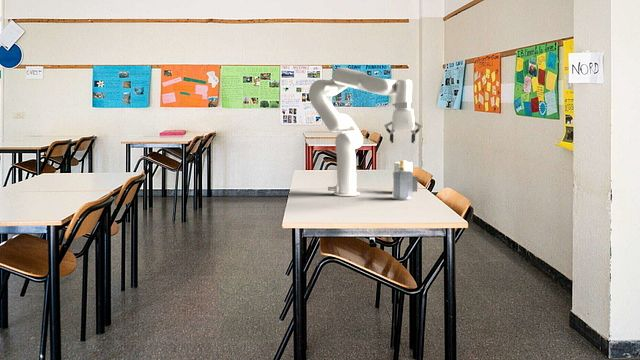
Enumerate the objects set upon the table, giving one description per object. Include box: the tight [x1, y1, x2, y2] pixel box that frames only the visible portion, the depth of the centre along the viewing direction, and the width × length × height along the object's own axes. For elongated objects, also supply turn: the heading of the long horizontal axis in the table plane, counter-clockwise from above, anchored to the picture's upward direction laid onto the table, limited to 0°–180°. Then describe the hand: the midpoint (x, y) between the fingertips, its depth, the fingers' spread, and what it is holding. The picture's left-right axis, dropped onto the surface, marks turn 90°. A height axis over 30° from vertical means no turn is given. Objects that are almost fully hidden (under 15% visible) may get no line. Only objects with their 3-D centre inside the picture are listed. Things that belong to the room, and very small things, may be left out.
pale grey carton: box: [392, 170, 419, 201], centre depth 299 cm, size 12×9×13 cm
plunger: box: [398, 160, 408, 172], centre depth 298 cm, size 6×6×16 cm
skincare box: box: [393, 161, 413, 172], centre depth 318 cm, size 8×7×16 cm
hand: (402, 142), depth 297 cm, fingers open, 9 cm apart
